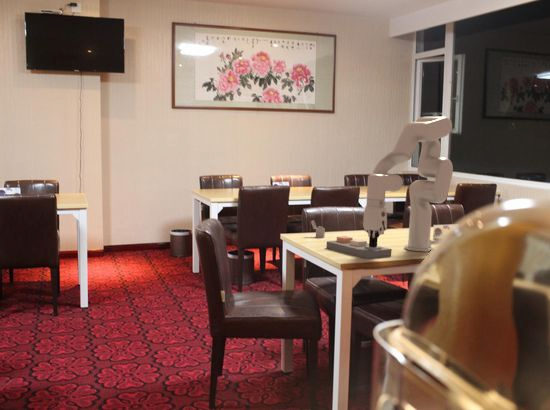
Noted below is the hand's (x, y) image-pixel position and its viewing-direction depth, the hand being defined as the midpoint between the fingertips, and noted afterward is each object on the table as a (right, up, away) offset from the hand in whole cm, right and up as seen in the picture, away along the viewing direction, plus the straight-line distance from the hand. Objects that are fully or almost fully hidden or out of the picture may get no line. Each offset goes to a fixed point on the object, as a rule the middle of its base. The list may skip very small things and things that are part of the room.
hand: (372, 246), depth 250 cm
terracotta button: (-10, 0, +15) cm, 18 cm away
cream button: (-5, -1, +8) cm, 9 cm away
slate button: (0, -3, 0) cm, 3 cm away
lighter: (-20, +2, +45) cm, 49 cm away
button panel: (-5, -3, +8) cm, 10 cm away
